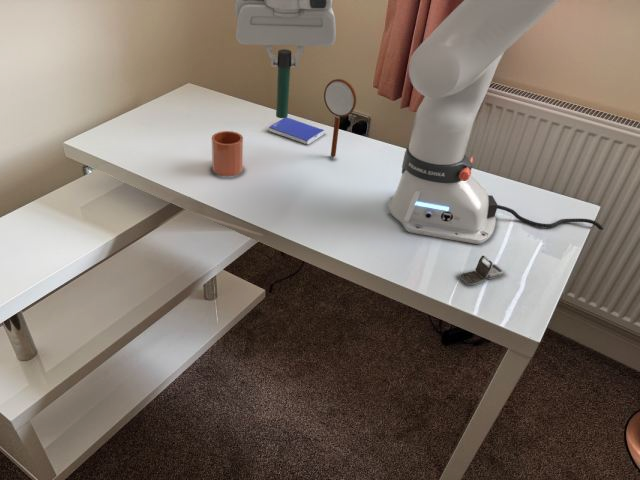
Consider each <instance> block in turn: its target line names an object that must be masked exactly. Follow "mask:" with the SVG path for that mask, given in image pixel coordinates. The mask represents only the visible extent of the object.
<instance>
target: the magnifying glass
mask: <svg viewBox="0 0 640 480" xmlns="http://www.w3.org/2000/svg"><path fill="white" fill-rule="evenodd" d="M323 101H324V104H325V106H326V108H327V110H328V111H329V112H330V113H331V114H332V115H334V116H335V117H334V122H333V123H334V125H333V130H332V131H333V132H332V142H331V149H330V157H331V160H334V159H335V157H336V155H337V148H338V147H337V146H338V138H339V132H340V131H339V130H340V124H341V123H340V122H341V118H344V117H347V116H349V115H350V114H352V113H353V112H354V110H355V108H356V105H357V94H356V91H355V89H354V87H353V86H352V84H351V83H349V82H348V81H347V80H345V79H342V78H336V79H333V80H331V81H329V83H327V85H326V86H325V89H324V92H323Z"/></svg>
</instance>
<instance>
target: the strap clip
mask: <svg viewBox="0 0 640 480" xmlns="http://www.w3.org/2000/svg"><path fill="white" fill-rule="evenodd" d="M484 260H485V261H487V262H488V263H489V264H486V263H485V262H484ZM504 272H505V271H504V270H503V269H502V268H500V267H499V266H498V265H497V264H495V263H493V261H492V260H491V259H489V258H488V257H487V256H486V255H481V256H480V258H479V260H478V262H477V264H476V267H475V270H472V271H468V272H465V273H462V274H460V276H459V277H460V279H461V280H462V281H464V283H465V284H467V285H469V286H471V285H472V286H474V285H477V284H479V283H482V282H484V280H485V279H488V280H492V279H496V278H500V277H501V276H503V275H504ZM466 278H467V279H468V280H469V281H468V280H467V279H466Z"/></svg>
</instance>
